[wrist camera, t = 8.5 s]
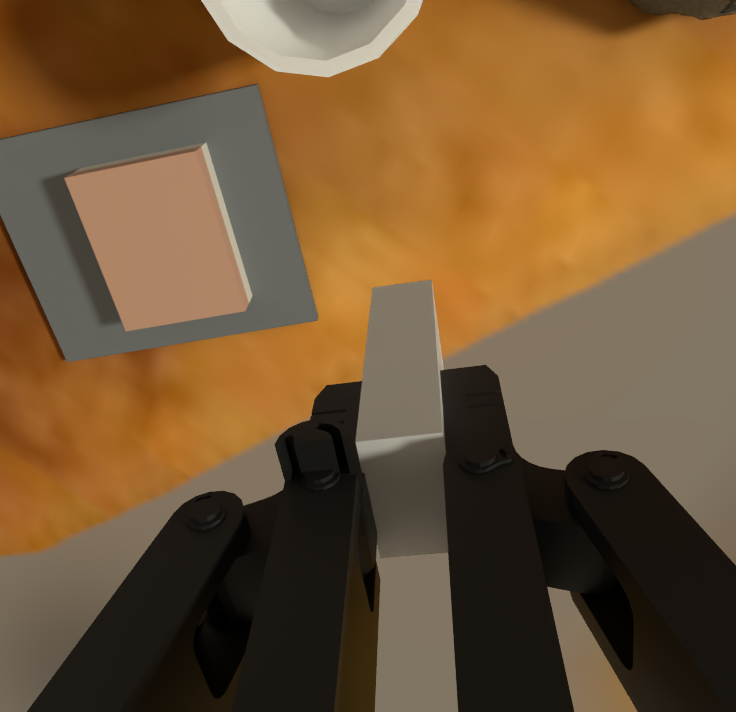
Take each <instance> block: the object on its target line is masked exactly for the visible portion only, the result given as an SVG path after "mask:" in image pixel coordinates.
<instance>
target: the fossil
mask: <svg viewBox="0 0 736 712" xmlns="http://www.w3.org/2000/svg"><path fill="white" fill-rule="evenodd" d="M630 1H631V2H632V4H633V5H635V6H637V7H638V8H640V9H641V10H642V11H643V12H644V13H647V14H655V15H662V14H669V13H674V14H681V15H686V16H693V17H696V18H698V19H700V20H706V19H711V18H714V17H719V16H724V15H731V14H736V0H630Z"/></svg>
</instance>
